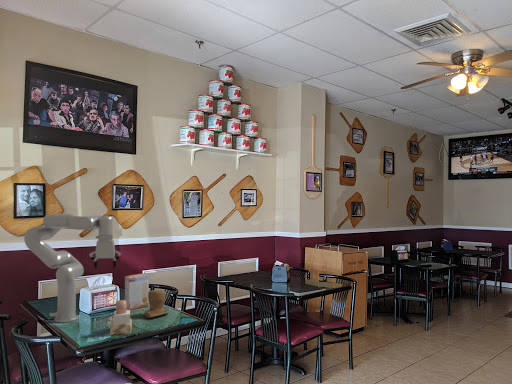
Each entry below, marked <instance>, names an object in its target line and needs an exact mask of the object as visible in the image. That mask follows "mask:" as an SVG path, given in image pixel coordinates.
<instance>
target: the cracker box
mask: <svg viewBox="0 0 512 384" xmlns="http://www.w3.org/2000/svg"><path fill="white" fill-rule="evenodd" d="M149 275H150V274H148V273H137V274H131V275H126V276H124V300H126V310H130V311H132V310H137V309H141V308H145V307H147V308H148V307H150V304H149V299H148V292H149V291H150V289H149V287H150V286H149V285H150V284H149V280H150V277H149Z"/></svg>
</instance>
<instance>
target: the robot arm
mask: <svg viewBox="0 0 512 384" xmlns="http://www.w3.org/2000/svg"><path fill="white" fill-rule="evenodd" d="M113 222H114V219H113V217H112V216H109V215H107V216H106V215H105V216H100V215H90V216H89V215H88V216H81V215H80V216H77V215H73V214H70V213H69V214H68V213H67V214H66V213H60V212H59V213H49V214H46V215H45V216H44V217H43V219H42V224H43V225H41V226H33V227H30V228H28V229H27V230H26V231H25V233H24V236H23V238H24V239H23V240H24V243H25V245H26V248H27V249H29V251H30V252H32V253H33V254H34V255H35V256H36V257H37V258H39V259H40V261H42V262H43V263H44V264H45V265H46V266H47V267H48V268H50V269H52V270H53V269H57V270H56V272H55V279H56V284H57V306H56V307H57V310H56V311H55V312H50V313H49V315H48V316H49V317H50V318H54V322H56V323H68V322H69V323H70V322H74V321H76V320H78V319H79V315H78V314H76V311H77V310H76V308H77V306H76V303H77V302H76V299H77V296H76V295H77V290H76V289H77V288H76V282H75V279H78V278H80V277H82V276H83V275H84V272H85V271H84V269H85V268H84V266H83V265H82V263H81V262H80V261H79V260H78V259H77V258H75V257H74V256H73V255H72V254H71V253H70V252H68V251H67V250H55V249H53V248H52V247H51V246H50V245H49V244H48V243H46V242H44V241H47V240H50V239H52V238H53V237H54V236H56V235H57V233H58V232H60V231H61V230H62V229H63V230H81V231H89V230H97V229H98V235H96V236H95V239H97V240H96V244H95V250H94V251H92V252H90V253H89V254H88V255H89V257H90V259H91V260H92V261H93V262H94V263H93V266H94V268H95V270H97V269H98V267H99V266H98V265H99V264H98V263H99V262H98V260H99V259H112V260H113V262H112V265H113V266H112V267H113V268H112V269H115V268H116V267H117V260H118V259H119V258H120V257H121V255H122V252H120V251H118V250H116V247H115V241H114V238H113V236H114V235H113V228H114V226H113V225H114V224H113ZM116 254H117V256H116ZM94 255H95V257H94Z"/></svg>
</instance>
